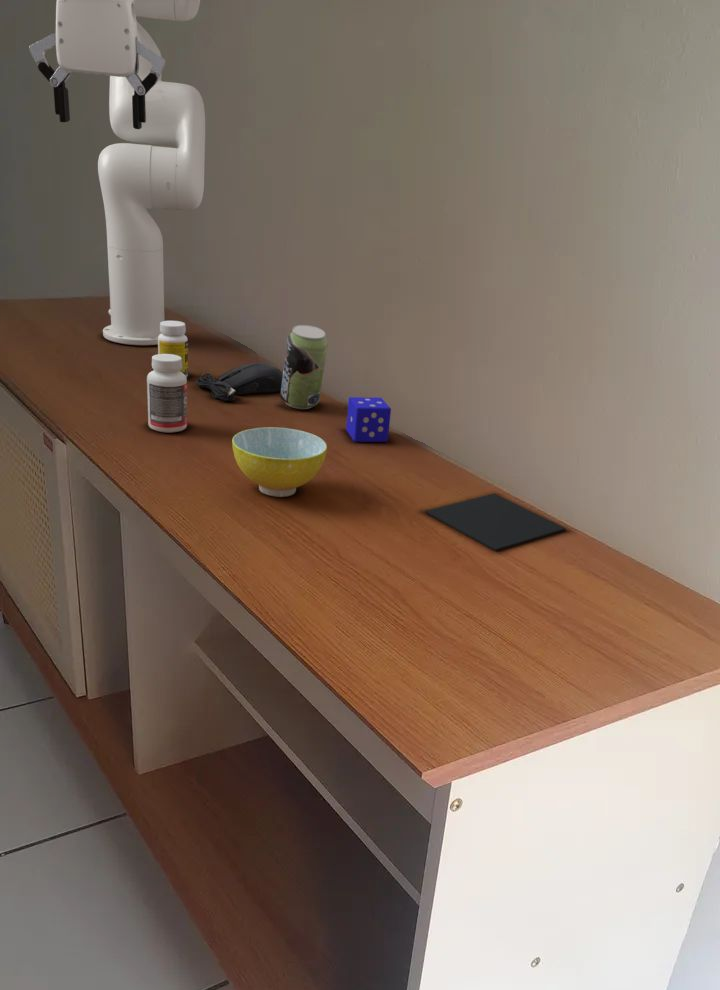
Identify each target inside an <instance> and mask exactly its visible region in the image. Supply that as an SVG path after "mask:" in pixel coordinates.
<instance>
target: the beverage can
mask: <svg viewBox="0 0 720 990" xmlns="http://www.w3.org/2000/svg"><path fill="white" fill-rule="evenodd" d="M328 345H329V341H328V338H327V336H326V332H325V331H324V330H323V329H321V328H320V327H317V326H314V325H309V324H298V325H295V326H293V327H292V330H291V331H290V333H289V334H288V335H287V339H286V347H285V355H284V363H283V371H282V373H283V378H282V385H281V391H280V393H279V396H280V399H281V400H282V402H283V403H285V404H286V405H287V406H288V407H290V408H293V409H296V410H309V409H311V408H313V407H315V406H317V405H318V404H319V403H320V396H321V389H322V383H323V376H324V371H325V365H326V358H327V351H328Z"/></svg>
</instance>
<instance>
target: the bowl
mask: <svg viewBox="0 0 720 990" xmlns="http://www.w3.org/2000/svg"><path fill="white" fill-rule="evenodd" d="M231 445H232V447H231V448H232V452H233V456H234V459H235V462H236V464H237V466H238V467H239V470H240V471H241V472H242V473H243V474H244V476H245V477H247V478H248V479H249V480H250V481H251V482H253V483H255V484H256V485H258V490H259V491H260V492H261V493H262V494H264V495H266V496H271V497H276V498H283V497H290V496H293V495H294V494H295V493H297V492H296V491H297V488H299V487H302V486H304V485H306V484H307V483H309V482H310V481H311V480H312V479H314V477H316V475H318V474H319V472H320V470H321V469H322V466H323V464H324V463H325V459H326V456H327V452H328V445H327V442H326V441H325V440H324V439H322V438H321V437H320V436H318V435H316V434H313V433H311V432H307V431H305V430H300V429H296V428H295V429H294V428H288V427H276V426H275V427H274V426H271V427H270V426H269V427H268V426H267V427H266V426H265V427H255V428H249V429H244V430H242V431H239V432H237V433H236V434H234V436H233V437H232V439H231Z"/></svg>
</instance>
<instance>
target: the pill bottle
mask: <svg viewBox="0 0 720 990" xmlns="http://www.w3.org/2000/svg"><path fill="white" fill-rule="evenodd" d="M181 367H182V358H181V357H180V356H177V355H173V354H158V353H157V354H153V355H152V356H151V368H152V369H153V370H151V371H150V372H148V374H147V376H146V394H147V396H146V397H147V423H148V427H149V428H150V429H151V430H153V431H156V432H159V433H170V434H171V433H178V432H182V431H184V430H185V429H187V426H188V380H187V379H188V377H186V376H185V375H184V374H183V373H182V372H180V370H181Z"/></svg>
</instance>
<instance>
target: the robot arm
mask: <svg viewBox="0 0 720 990" xmlns="http://www.w3.org/2000/svg"><path fill="white" fill-rule="evenodd" d="M200 5H201V0H56V3H55V32H52V33H51V34H49V35H48V36H45V37H44V38H42V39H39V40H38V41H36V42H34V43H32V44H30V45H29V47H28V50H29V53H30V54H31V56H32V58H33V60H34V63H35V64H36V66H37V69H38V71H39V72H40V73H41V74H42V75H43V77H44V78H45V79H46V80H47V81H48V82H49V84H50V86H51V87H52V88H53V100H54V101H53V102H54V113H55V115H59V122H60V123H68V122H70V121H71V116H70V99H69V89H68V88H67V87H66V82H67V80H68V79H69V77H70V76H71V75H72V73H78V74H87V75H95V76H96V75H98V76H105V77H106V76H107V77H109V95H108V96H109V97H108V100H109V101H108V102H109V103H108V112H109V123H110V127H111V129H112V132H113V134H115V136H117V138H120V140H124V141H126V142H118V143H112V144H110V145H108V146H105V148H103V149H102V150H101V152H100V153H99V156H98V160H97V173H98V179H99V185H100V191H101V195H102V201H103V202H102V203H103V209H104V214H105V215H104V217H105V227H106V245H107V265H108V267H107V268H108V285H109V286H108V287H109V309H108V315H109V316H110V324H109V325H107V326H105V327H104V328H103V329H102V336H103V337H104V339H106V340H108V341H110V342H113V343H117V344H122V345H129V346H158V336H159V335H160V334H161V332H160V322H162V321H166V320H165V282H164V281H165V278H164V277H165V275H164V240H163V239H164V238H163V234H162V232H161V229H160V227H159V226H158V224H157V222H156V221H155V220H154V218H153V217H152V215H151V214H150V213H149V212H148V210H147V209H161V210H171V211H172V210H175V211H194V210H196V209H198V208H199V207H200V205H201V204H202V201H203V198H204V192H205V191H204V190H205V165H206V162H205V161H206V160H205V159H206V111H205V103H204V100H203V97H202V94H201V92H200V91H199V90H198V89H197V88H196V87H195V86H193V85H190V84H187V83H182V82H181V83H180V82H171V81H163V80H162V76H163V74H162V73H163V70H164V68H165V66H166V59H165V58H164V57H162V54H161V50H160V49H159V47H158V45H157V44H156V42H155V40H154V39H153V38H152V37H151V35H150V34H149V33H148V31H147V30H146V29H145V28H144V27H143V26H142V25H141V24H140V23H139V22H138V20H137V17H138V18H147V19H156V20H167V21H174V22H188V21H191V20H193V19H194V18H195V17H196V16H197V14H198V12H199V10H200ZM54 48H55V52H56V60H57V64H58V67H57V68H56V70H54V68H53V67H52V66H51V65H50V64H49V63H48V61H47V58H46V57H45V54H46V52H47V51H49V50H51V49H54ZM128 142H129V143H128ZM158 145H159V146H158Z"/></svg>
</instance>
